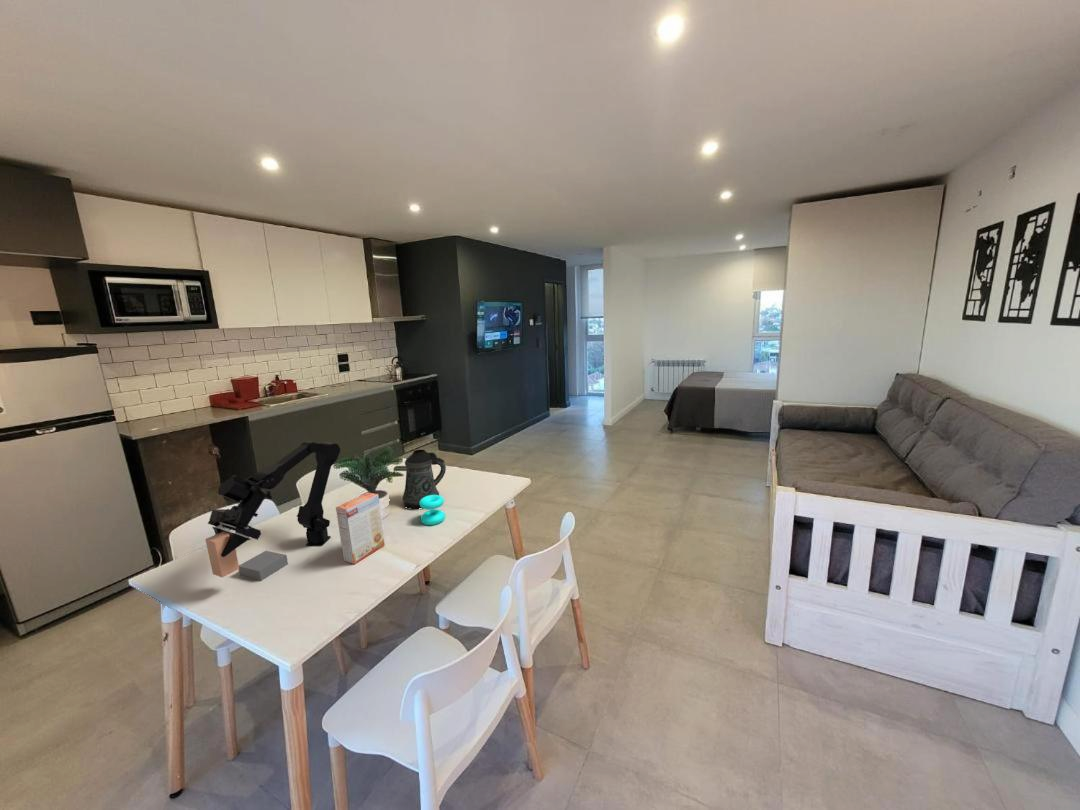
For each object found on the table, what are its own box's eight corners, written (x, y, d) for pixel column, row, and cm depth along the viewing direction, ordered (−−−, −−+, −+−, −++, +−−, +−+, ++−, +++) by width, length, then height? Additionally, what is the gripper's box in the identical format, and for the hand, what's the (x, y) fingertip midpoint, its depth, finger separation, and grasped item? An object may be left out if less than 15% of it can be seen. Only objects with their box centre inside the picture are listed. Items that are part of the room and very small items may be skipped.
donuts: (417, 496, 176) (441, 492, 180) (419, 517, 178) (443, 513, 182) (420, 505, 167) (445, 501, 171) (422, 528, 169) (447, 523, 173)
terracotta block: (230, 565, 135) (223, 531, 132) (239, 568, 133) (232, 534, 130) (212, 573, 130) (205, 539, 128) (222, 577, 128) (214, 542, 126)
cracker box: (374, 542, 160) (368, 491, 155) (385, 545, 157) (379, 493, 153) (342, 561, 147) (334, 506, 143) (354, 565, 145) (346, 509, 140)
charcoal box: (267, 560, 150) (265, 550, 149) (288, 565, 146) (286, 554, 146) (239, 576, 140) (237, 566, 140) (261, 582, 137) (259, 571, 136)
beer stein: (397, 502, 194) (391, 451, 189) (434, 490, 207) (430, 442, 202) (412, 513, 182) (407, 459, 177) (451, 500, 195) (447, 449, 190)
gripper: (208, 493, 134) (175, 541, 126) (244, 502, 126) (210, 553, 119) (239, 505, 143) (209, 551, 135) (274, 514, 135) (244, 563, 127)
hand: (217, 554), depth 129 cm, fingers closed on terracotta block, 5 cm apart
